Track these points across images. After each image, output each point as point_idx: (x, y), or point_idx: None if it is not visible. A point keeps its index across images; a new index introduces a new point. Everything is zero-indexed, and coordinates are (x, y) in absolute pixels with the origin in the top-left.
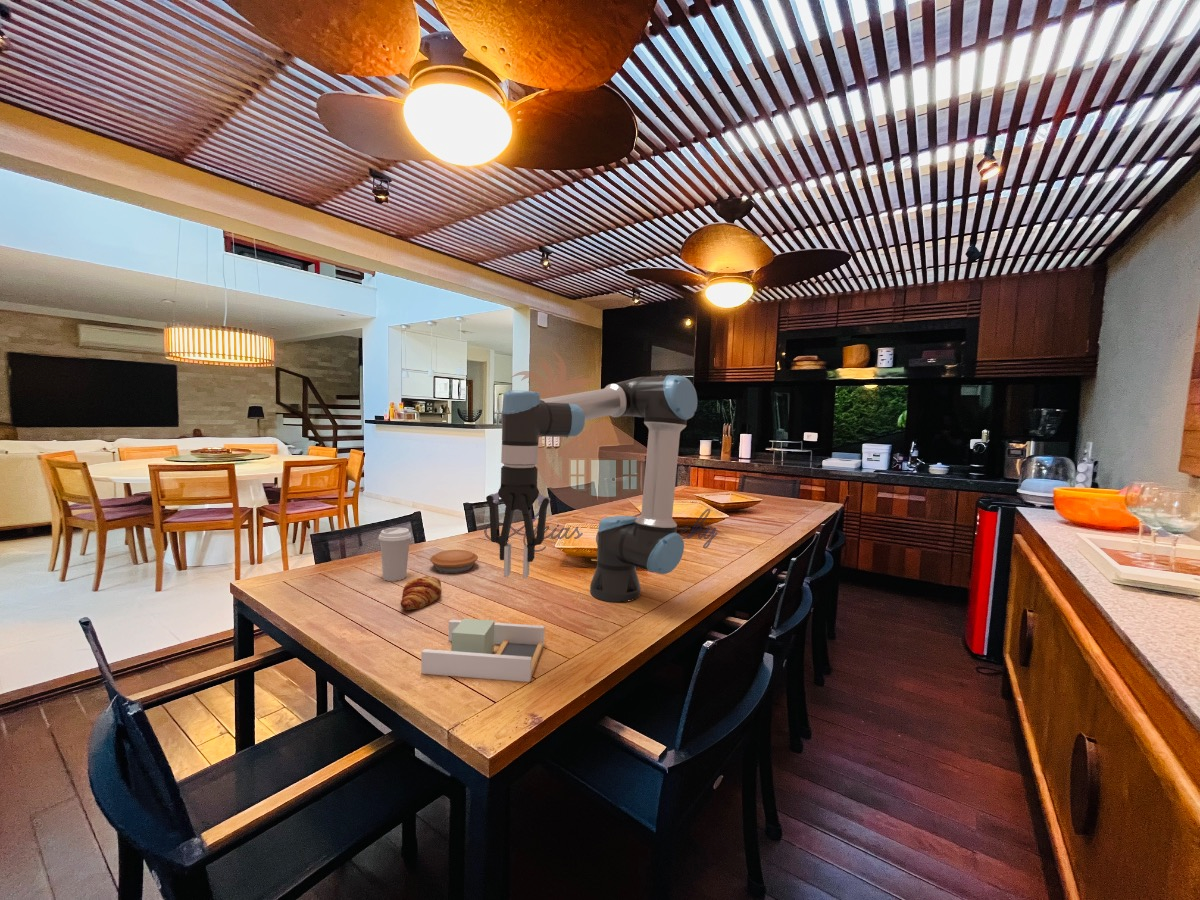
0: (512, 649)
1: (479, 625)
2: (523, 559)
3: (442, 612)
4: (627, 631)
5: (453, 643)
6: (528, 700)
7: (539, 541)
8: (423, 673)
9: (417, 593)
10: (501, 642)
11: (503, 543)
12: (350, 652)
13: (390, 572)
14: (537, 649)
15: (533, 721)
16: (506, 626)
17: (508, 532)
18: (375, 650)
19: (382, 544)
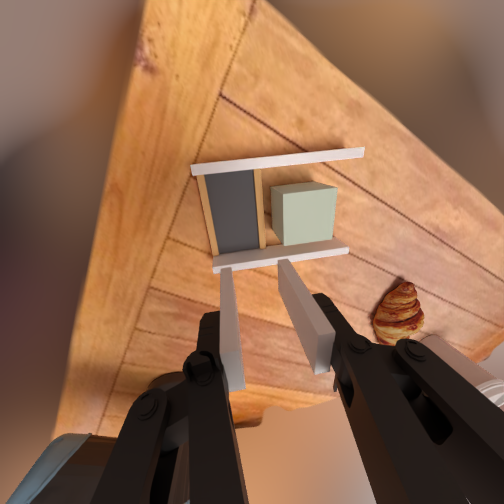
0: (248, 233)
1: (301, 223)
2: (233, 306)
3: (359, 294)
4: (124, 320)
5: (325, 185)
6: (175, 112)
7: (139, 412)
8: (342, 148)
9: (404, 307)
10: (268, 247)
11: (349, 345)
12: (442, 177)
13: (441, 343)
14: (213, 237)
15: (140, 48)
16: (267, 258)
17: (362, 431)
18: (414, 190)
19: (490, 374)
